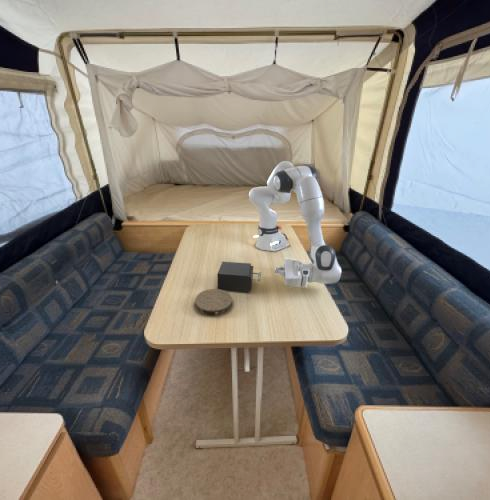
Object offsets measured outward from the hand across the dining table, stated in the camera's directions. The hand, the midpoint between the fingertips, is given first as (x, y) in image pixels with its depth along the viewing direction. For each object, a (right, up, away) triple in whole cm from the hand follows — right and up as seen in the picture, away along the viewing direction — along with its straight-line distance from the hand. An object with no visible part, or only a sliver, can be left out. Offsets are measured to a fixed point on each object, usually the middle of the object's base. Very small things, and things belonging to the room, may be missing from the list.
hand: (274, 270), depth 126 cm
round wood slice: (-28, -15, -9) cm, 33 cm away
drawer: (-15, -7, +5) cm, 18 cm away
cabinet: (-19, -8, +6) cm, 21 cm away
